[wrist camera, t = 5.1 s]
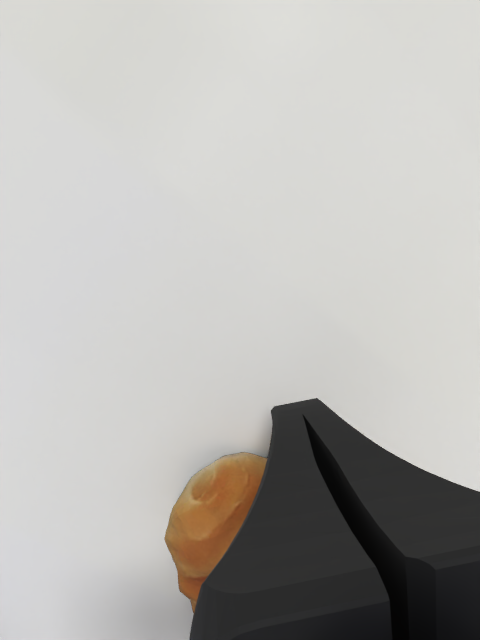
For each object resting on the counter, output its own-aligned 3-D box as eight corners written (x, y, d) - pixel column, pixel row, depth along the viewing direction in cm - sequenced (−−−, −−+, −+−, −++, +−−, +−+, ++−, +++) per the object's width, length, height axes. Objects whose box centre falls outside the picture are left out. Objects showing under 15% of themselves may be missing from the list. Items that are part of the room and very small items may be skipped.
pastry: (116, 512, 15) (92, 623, 11) (280, 397, 14) (310, 479, 11) (276, 651, 18) (297, 773, 15) (419, 564, 17) (479, 670, 14)
